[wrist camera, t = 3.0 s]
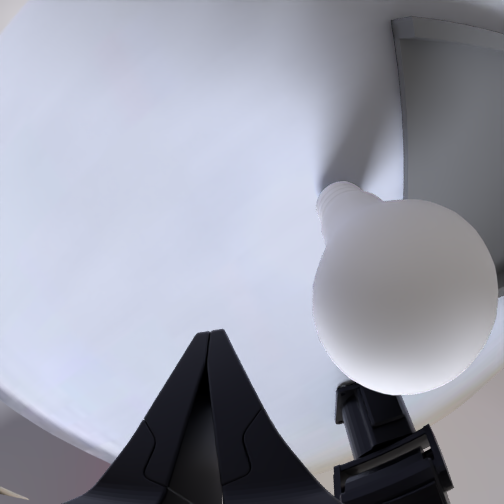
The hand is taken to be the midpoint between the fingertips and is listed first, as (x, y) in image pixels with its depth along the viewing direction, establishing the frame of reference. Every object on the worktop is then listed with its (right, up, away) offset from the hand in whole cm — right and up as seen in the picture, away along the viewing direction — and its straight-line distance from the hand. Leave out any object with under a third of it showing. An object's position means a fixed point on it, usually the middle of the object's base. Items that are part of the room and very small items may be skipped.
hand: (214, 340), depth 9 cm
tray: (+15, +7, +6) cm, 18 cm away
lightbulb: (+5, +5, +7) cm, 10 cm away
